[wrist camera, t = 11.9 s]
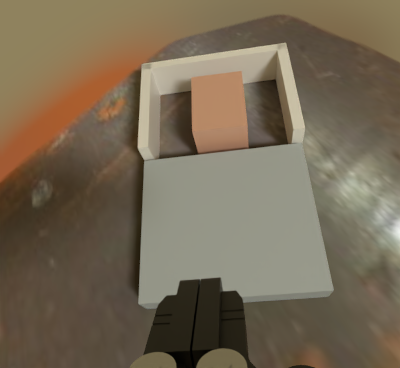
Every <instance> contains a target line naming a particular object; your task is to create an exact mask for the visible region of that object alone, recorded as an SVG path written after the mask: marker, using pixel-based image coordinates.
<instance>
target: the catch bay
mask: <svg viewBox="0 0 400 368" xmlns="http://www.w3.org/2000/svg"><path fill="white" fill-rule="evenodd" d="M237 71H242V79H243V84H245V83H252V82H259V81H267V80H274V79H276V83H277V89H278V94H279V99H280V104H281V109H282V115H283V120H284V125H285V130H286V136H287V141H288V144H295V143H302V142H303V136H304V131H305V125H304V121H303V117H302V112H301V108H300V103H299V99H298V94H297V90H296V85H295V81H294V76H293V72H292V68H291V63H290V59H289V54H288V50H287V45H286V43H281V44H275V45H268V46H261V47H254V48H248V49H241V50H234V51H227V52H220V53H214V54H207V55H200V56H193V57H187V58H180V59H173V60H166V61H160V62H153V63H146V64H142V72H141V91H140V110H139V130H138V150H139V152H140V154H141V155H142V157H143V159H144V161H149V160H157V159H159V144H160V95H164V94H172V93H179V92H186V91H192V88H191V77H198V76H206V75H214V74H222V73H229V72H237Z"/></svg>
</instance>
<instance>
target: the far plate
mask: <svg viewBox="0 0 400 368" xmlns="http://www.w3.org/2000/svg"><path fill="white" fill-rule="evenodd" d="M218 277H221V280H222V288H223V291H235V290H236V291H237V292H238V293H239V295H240V296H241V297H242V299H243V302H257V301H272V300H287V299H301V298H316V297H328V296H329V295H330V294H331V293H332V292H333V291H334V290H333V285H332V280H331V276H330V271H329V266H328V262H327V257H326V252H325V248H324V243H323V238H322V234H321V229H320V224H319V220H318V215H317V210H316V206H315V201H314V196H313V192H312V187H311V182H310V178H309V173H308V168H307V164H306V159H305V154H304V150H303V145H302V143H295V144H286V145H278V146H269V147H261V148H252V149H243V150H235V151H226V152H217V153H209V154H200V155H192V156H183V157H174V158H166V159H157V160H149V161H144V179H143V203H142V228H141V253H140V278H139V302H138V304H139V305H141V306H143V307H145V308H146V309H154V308H157V307H158V304H159V303H160V302H161V301H162V300H163V299H164V298H165V297H166V295H177V290H178V286H179V282H180V280H193V279H200V281H201V279H205V278H218Z"/></svg>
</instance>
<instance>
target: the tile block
mask: <svg viewBox="0 0 400 368" xmlns="http://www.w3.org/2000/svg"><path fill="white" fill-rule="evenodd" d="M191 88H192V133H193V136H194V140H195V144H196V147H197V151H198V154H199V155H200V154H209V153H217V152H226V151H235V150H243V149H249V147H248V127H247V117H246V108H245V98H244V89H243V79H242V71H237V72H229V73H222V74H214V75H206V76H198V77H191Z"/></svg>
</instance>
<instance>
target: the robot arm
mask: <svg viewBox="0 0 400 368" xmlns="http://www.w3.org/2000/svg"><path fill="white" fill-rule="evenodd" d="M130 368H256V367H255V366H254V365H253V364H252V363H251V362H250V360H249V358H248V345H247V333H246V324H245V315H244V306H243V299H242V297H241V296H240V295H239V293H238V292H237V291H236V290H235V291H223V288H222V280H221V277H218V278H205V279H201V281H200V279H193V280H180V282H179V286H178V290H177V295H166V297H165V298H164V299H163V300H162V301H161V302H160V303H159V304H158V307H157V310H156V314H155V317H154V321H153V326H152V327H151V331H150V334H149V338H148V341H147V344H146V348H145V351H144V355H143V356H141V357H140V358H138V359H137V360H136V361H134V363H133V364H132V365H131V366H130ZM289 368H314V367H311V366H306V365H297V366H292V367H289Z"/></svg>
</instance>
